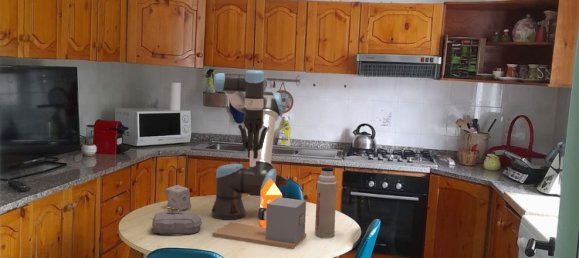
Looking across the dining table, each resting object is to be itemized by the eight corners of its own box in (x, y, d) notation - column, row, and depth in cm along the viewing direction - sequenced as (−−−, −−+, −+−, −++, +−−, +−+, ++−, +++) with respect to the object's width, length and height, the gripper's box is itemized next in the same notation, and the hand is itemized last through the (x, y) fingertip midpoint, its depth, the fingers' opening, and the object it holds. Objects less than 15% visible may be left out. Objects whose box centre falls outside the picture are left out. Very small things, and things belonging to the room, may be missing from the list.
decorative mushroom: (286, 207, 259) (287, 177, 257) (263, 206, 259) (264, 176, 257) (286, 202, 270) (287, 173, 268) (265, 201, 270) (266, 172, 268)
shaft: (257, 221, 210) (258, 209, 210) (262, 218, 215) (263, 206, 214) (300, 227, 204) (301, 214, 203) (304, 224, 209) (305, 211, 208)
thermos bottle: (316, 237, 214) (319, 169, 211) (313, 231, 222) (316, 165, 219) (335, 238, 215) (338, 170, 212) (332, 232, 223) (335, 166, 220)
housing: (212, 236, 211) (213, 198, 210) (230, 225, 226) (231, 190, 225) (292, 249, 200) (294, 208, 198) (306, 237, 215) (307, 199, 213)
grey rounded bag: (150, 236, 209) (201, 236, 212) (150, 216, 208) (202, 216, 211) (154, 225, 224) (202, 225, 226) (154, 206, 223) (202, 206, 226)
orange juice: (263, 229, 224) (264, 182, 221) (259, 222, 232) (260, 178, 230) (281, 228, 226) (283, 182, 223) (277, 222, 234) (278, 177, 232)
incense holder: (164, 208, 250) (164, 186, 249) (179, 205, 256) (179, 184, 255) (176, 212, 244) (176, 190, 243) (191, 209, 250) (191, 187, 249)
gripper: (235, 108, 213) (234, 166, 217) (264, 110, 209) (263, 169, 212) (243, 107, 220) (242, 162, 223) (272, 109, 215) (270, 166, 219)
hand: (252, 166), depth 218 cm, fingers closed
